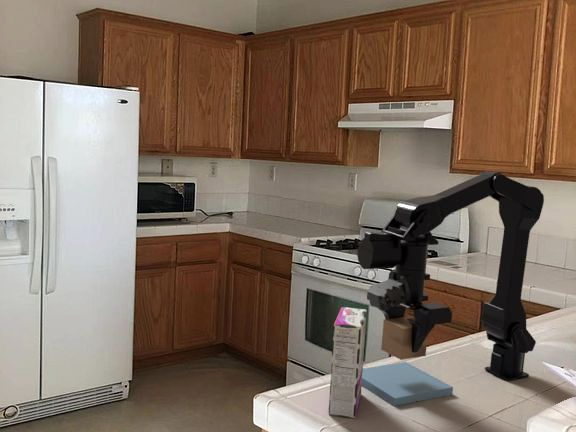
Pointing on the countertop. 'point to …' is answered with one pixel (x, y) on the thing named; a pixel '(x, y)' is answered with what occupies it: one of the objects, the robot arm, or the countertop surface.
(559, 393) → the countertop surface
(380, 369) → the slate board
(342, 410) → the candy bar box
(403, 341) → the walnut cube
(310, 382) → the countertop surface
